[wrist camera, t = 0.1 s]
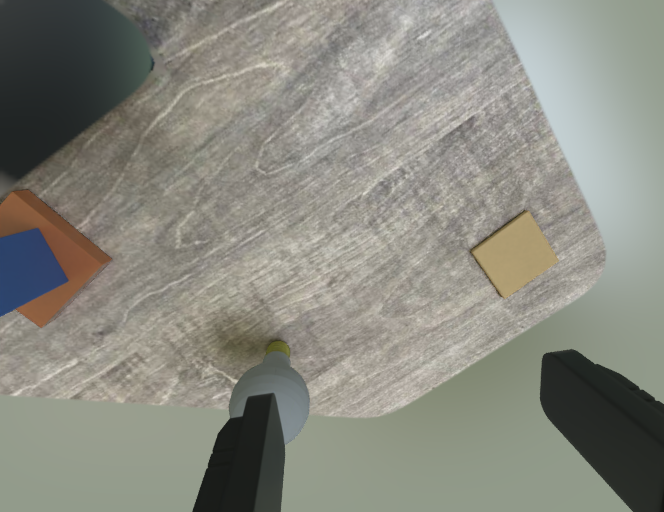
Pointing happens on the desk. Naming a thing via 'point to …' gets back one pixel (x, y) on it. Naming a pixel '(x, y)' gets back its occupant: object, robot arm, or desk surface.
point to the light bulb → (275, 389)
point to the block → (26, 269)
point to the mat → (515, 254)
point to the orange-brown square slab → (66, 245)
